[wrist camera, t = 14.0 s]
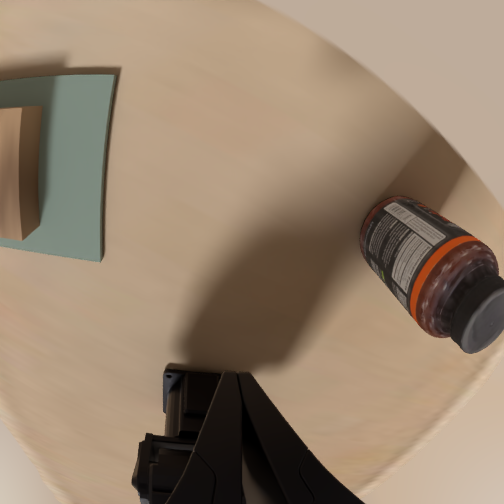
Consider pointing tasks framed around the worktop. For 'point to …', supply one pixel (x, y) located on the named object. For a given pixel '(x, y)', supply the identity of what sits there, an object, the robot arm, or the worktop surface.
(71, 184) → the mat
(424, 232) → the supplement bottle
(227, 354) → the worktop surface
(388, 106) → the worktop surface
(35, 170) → the slab
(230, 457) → the robot arm
